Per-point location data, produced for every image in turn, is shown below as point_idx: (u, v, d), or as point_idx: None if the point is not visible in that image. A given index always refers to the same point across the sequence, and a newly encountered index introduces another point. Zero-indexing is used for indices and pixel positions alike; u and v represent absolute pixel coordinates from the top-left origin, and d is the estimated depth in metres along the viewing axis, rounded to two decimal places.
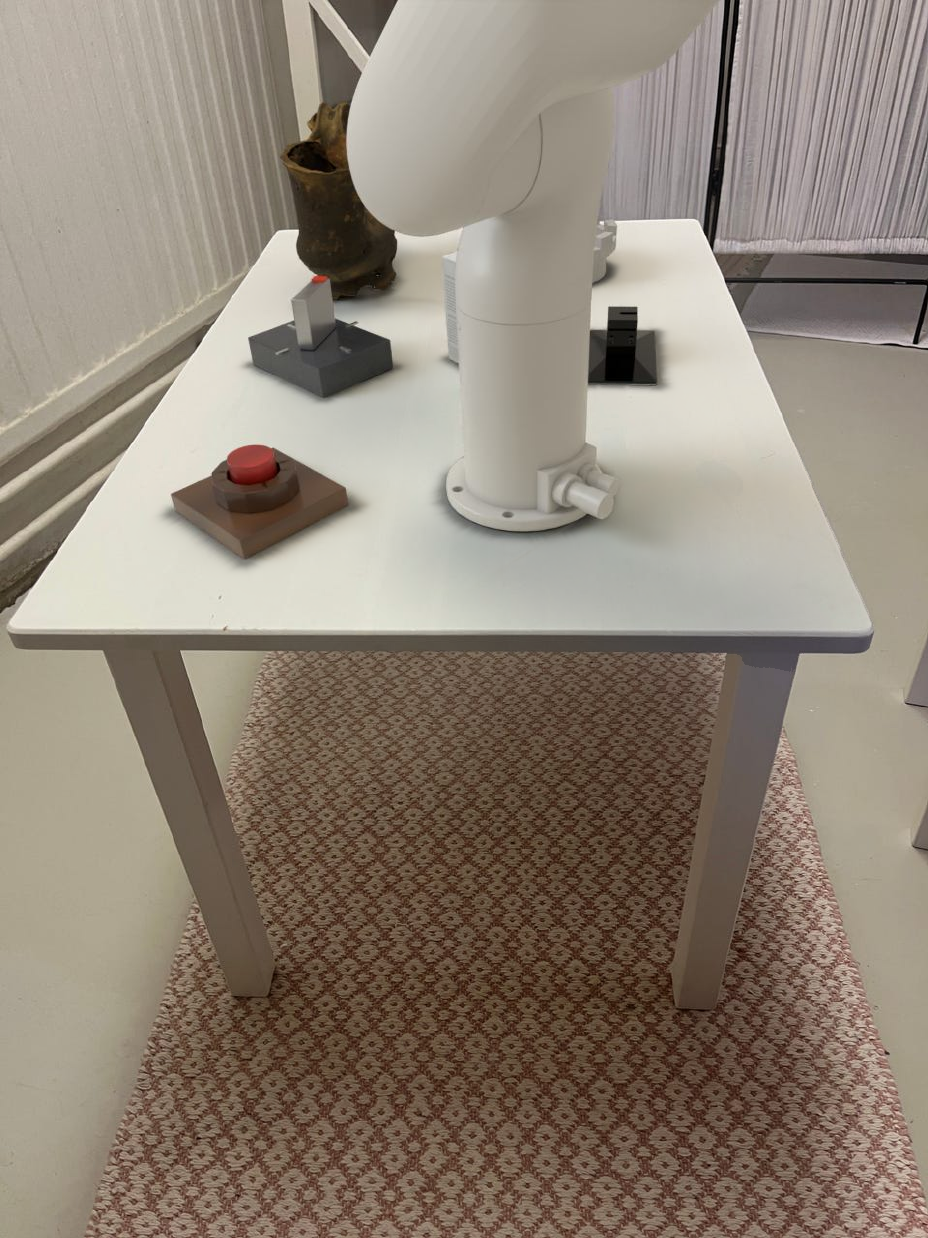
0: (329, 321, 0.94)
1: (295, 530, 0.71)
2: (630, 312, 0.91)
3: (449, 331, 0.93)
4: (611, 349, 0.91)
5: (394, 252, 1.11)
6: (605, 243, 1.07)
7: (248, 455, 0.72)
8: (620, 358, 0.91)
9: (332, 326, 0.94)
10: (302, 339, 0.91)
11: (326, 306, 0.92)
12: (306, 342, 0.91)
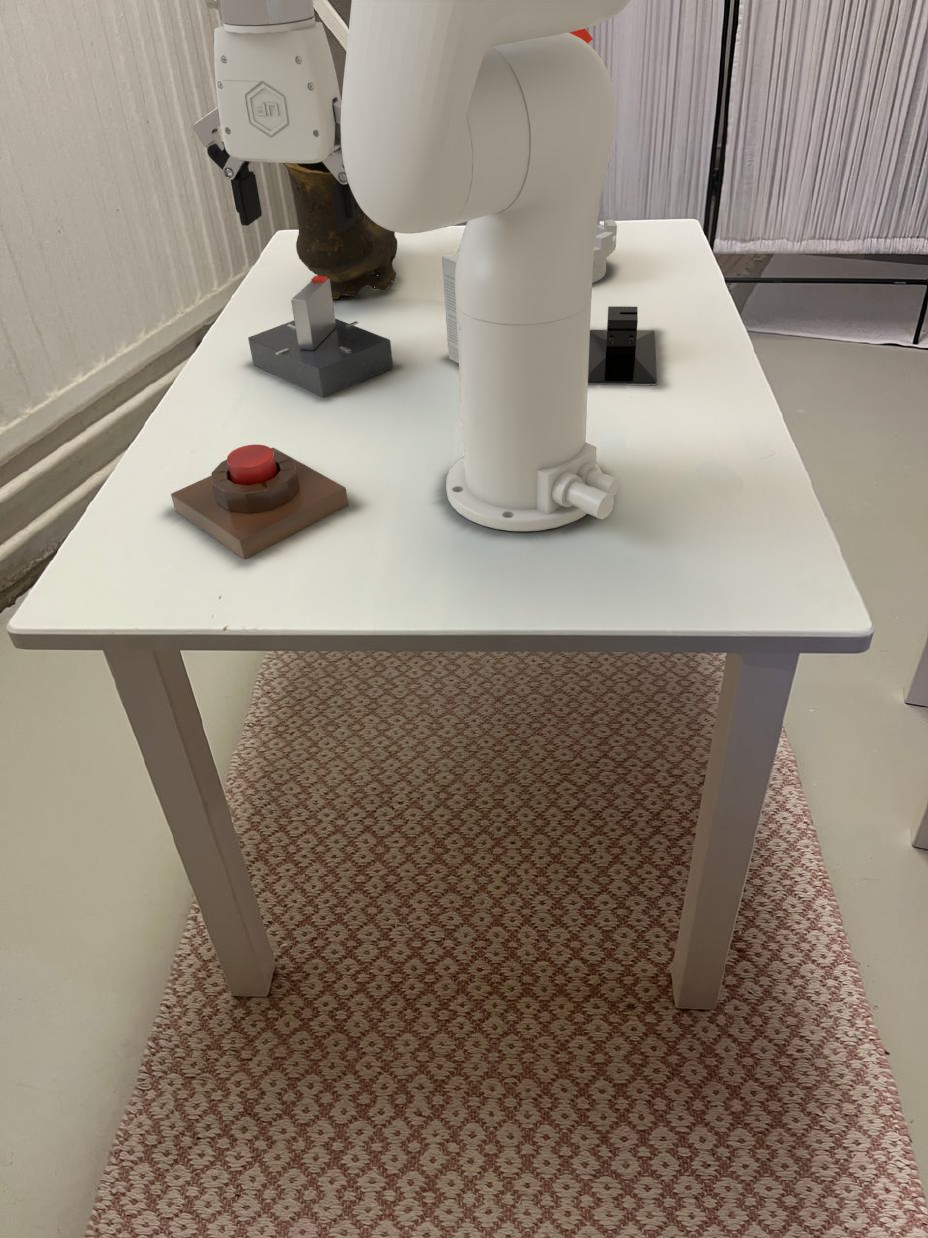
0: (329, 321, 0.94)
1: (295, 530, 0.71)
2: (630, 312, 0.91)
3: (449, 331, 0.93)
4: (611, 349, 0.91)
5: (394, 252, 1.11)
6: (605, 243, 1.07)
7: (248, 455, 0.72)
8: (620, 358, 0.91)
9: (332, 326, 0.94)
10: (302, 339, 0.91)
11: (326, 306, 0.92)
12: (306, 342, 0.91)
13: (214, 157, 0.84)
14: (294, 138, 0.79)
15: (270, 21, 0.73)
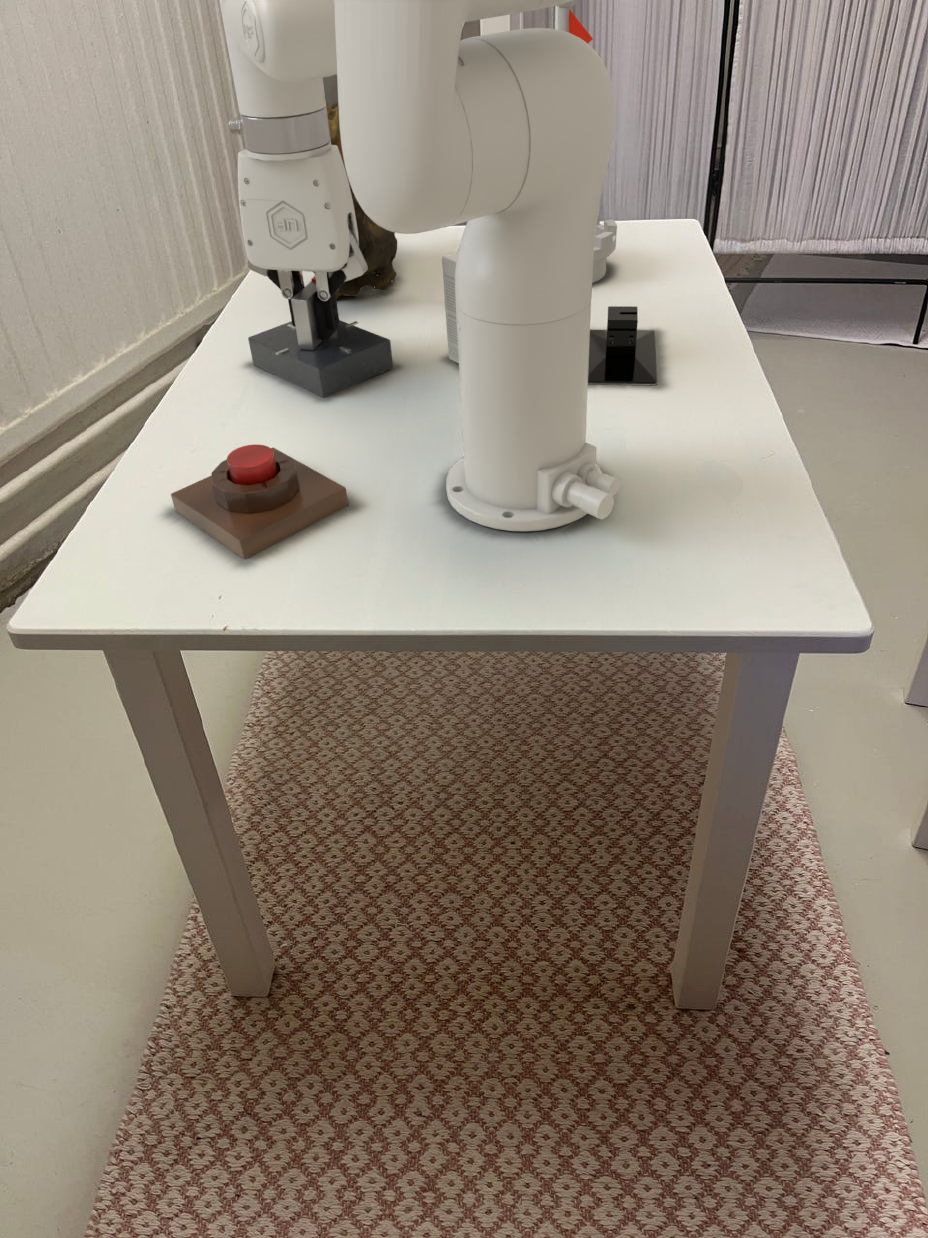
0: None
1: (295, 530, 0.71)
2: (630, 312, 0.91)
3: (449, 331, 0.93)
4: (611, 349, 0.91)
5: (394, 252, 1.11)
6: (605, 243, 1.07)
7: (248, 455, 0.72)
8: (620, 358, 0.91)
9: None
10: (302, 339, 0.91)
11: None
12: (306, 342, 0.91)
13: (273, 278, 0.90)
14: (312, 250, 0.85)
15: (290, 150, 0.79)
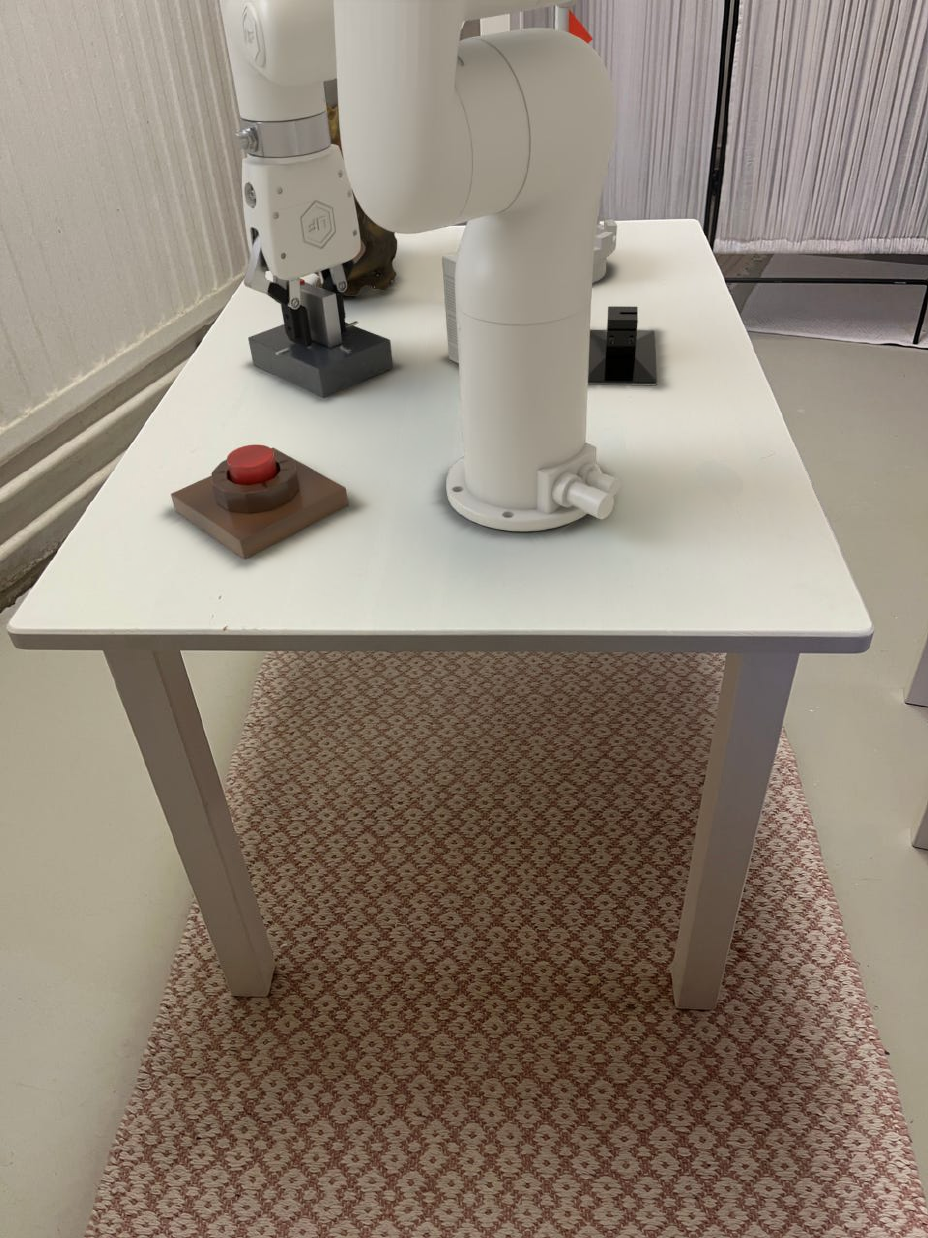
0: None
1: (295, 530, 0.71)
2: (630, 312, 0.91)
3: (449, 331, 0.93)
4: (611, 349, 0.91)
5: (394, 252, 1.11)
6: (605, 243, 1.07)
7: (248, 455, 0.72)
8: (620, 358, 0.91)
9: None
10: (333, 336, 0.91)
11: None
12: (336, 337, 0.91)
13: (276, 294, 0.87)
14: (339, 243, 0.87)
15: (326, 145, 0.81)
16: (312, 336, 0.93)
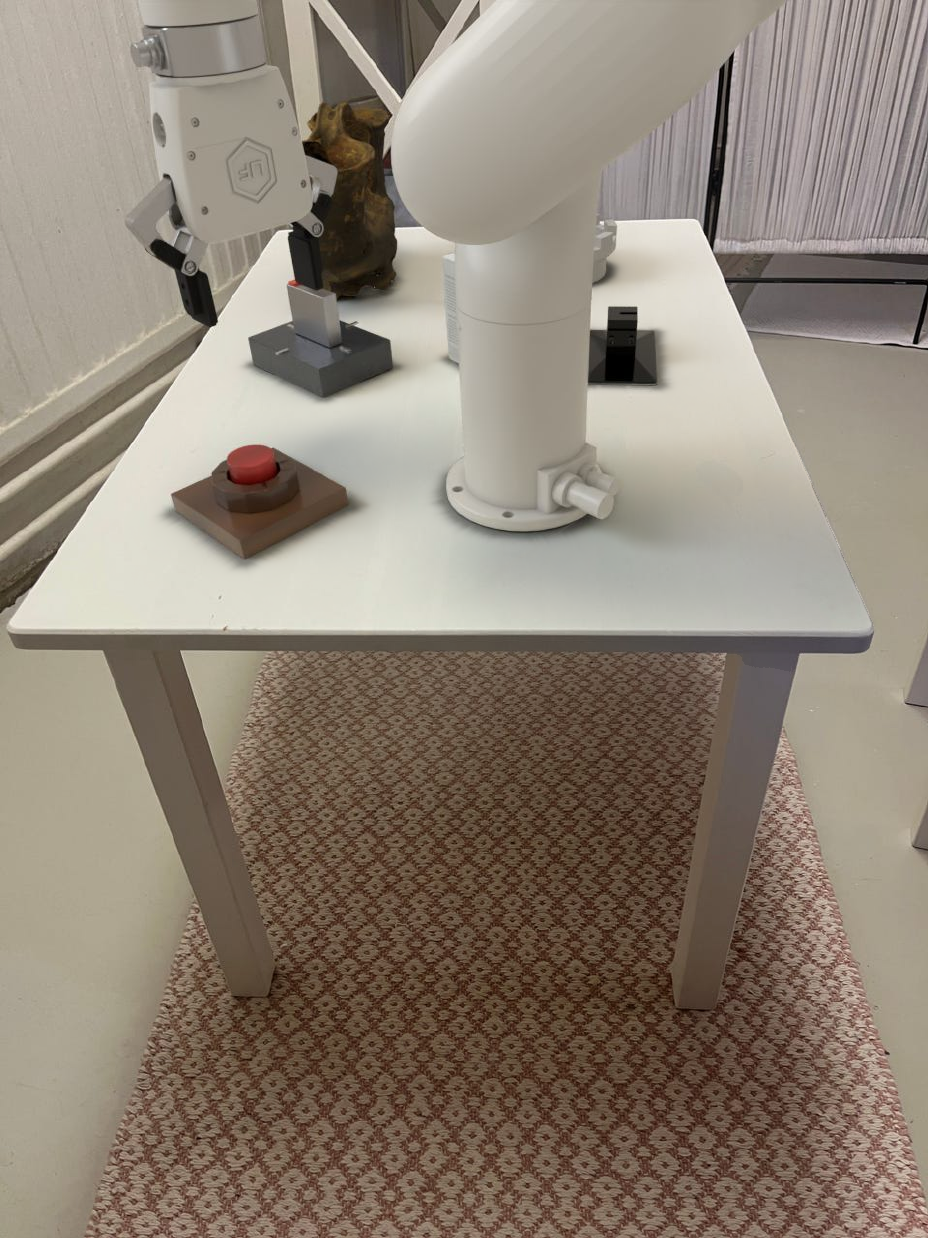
0: None
1: (295, 530, 0.71)
2: (630, 312, 0.91)
3: (449, 331, 0.93)
4: (611, 349, 0.91)
5: (394, 252, 1.11)
6: (605, 243, 1.07)
7: (248, 455, 0.72)
8: (620, 358, 0.91)
9: None
10: (333, 336, 0.91)
11: None
12: (336, 337, 0.91)
13: (163, 255, 0.65)
14: (282, 196, 0.67)
15: (258, 62, 0.61)
16: (312, 336, 0.93)
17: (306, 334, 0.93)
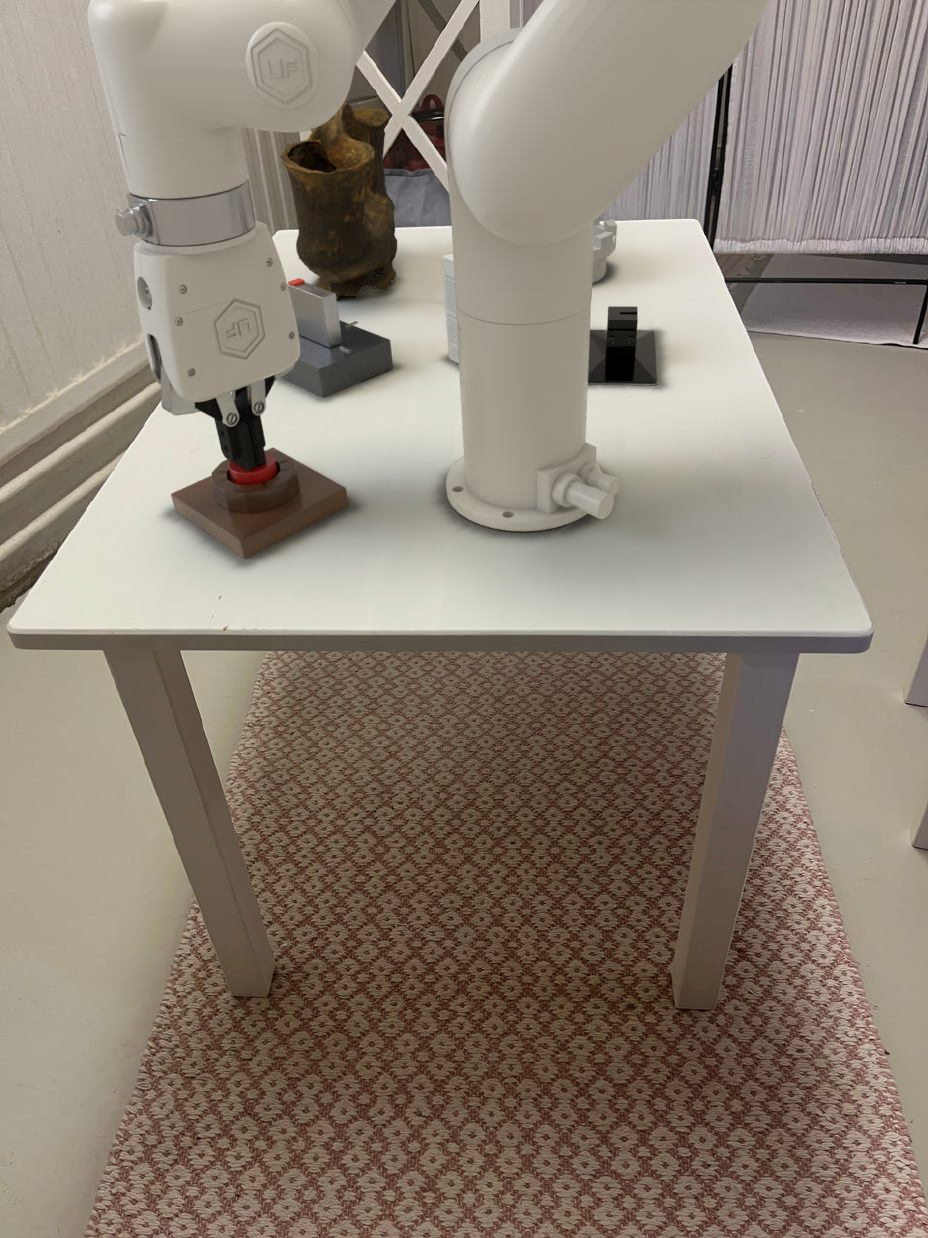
0: None
1: (295, 530, 0.71)
2: (630, 312, 0.91)
3: (449, 331, 0.93)
4: (611, 349, 0.91)
5: (394, 252, 1.11)
6: (605, 243, 1.07)
7: None
8: (620, 358, 0.91)
9: None
10: (333, 336, 0.91)
11: None
12: (336, 337, 0.91)
13: (206, 409, 0.66)
14: (270, 350, 0.66)
15: (248, 227, 0.60)
16: (312, 336, 0.93)
17: (306, 334, 0.93)
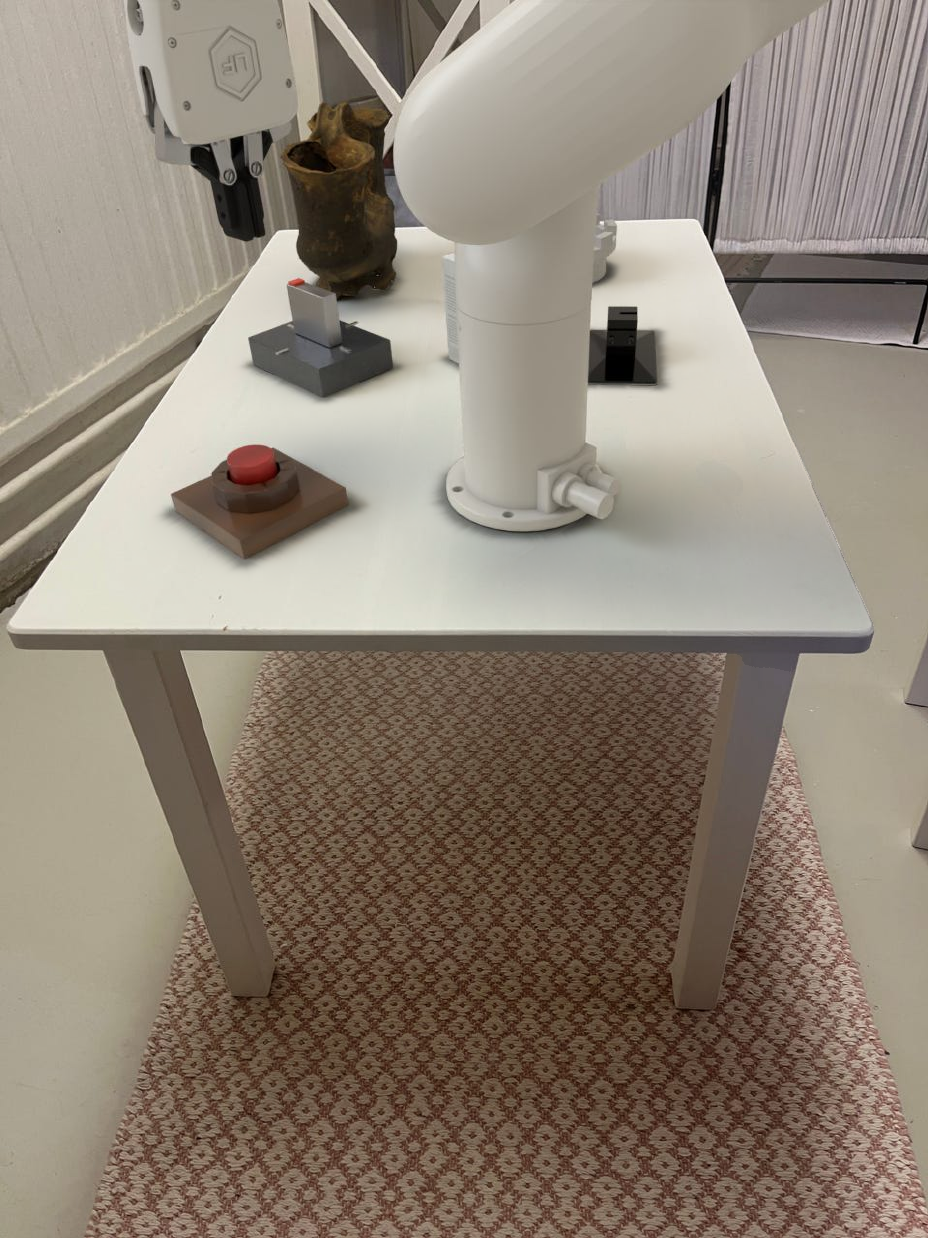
0: None
1: (295, 530, 0.71)
2: (630, 312, 0.91)
3: (449, 331, 0.93)
4: (611, 349, 0.91)
5: (394, 252, 1.11)
6: (605, 243, 1.07)
7: (248, 455, 0.72)
8: (620, 358, 0.91)
9: None
10: (333, 336, 0.91)
11: None
12: (336, 337, 0.91)
13: (202, 162, 0.64)
14: (267, 95, 0.63)
15: None
16: (312, 336, 0.93)
17: (306, 334, 0.93)
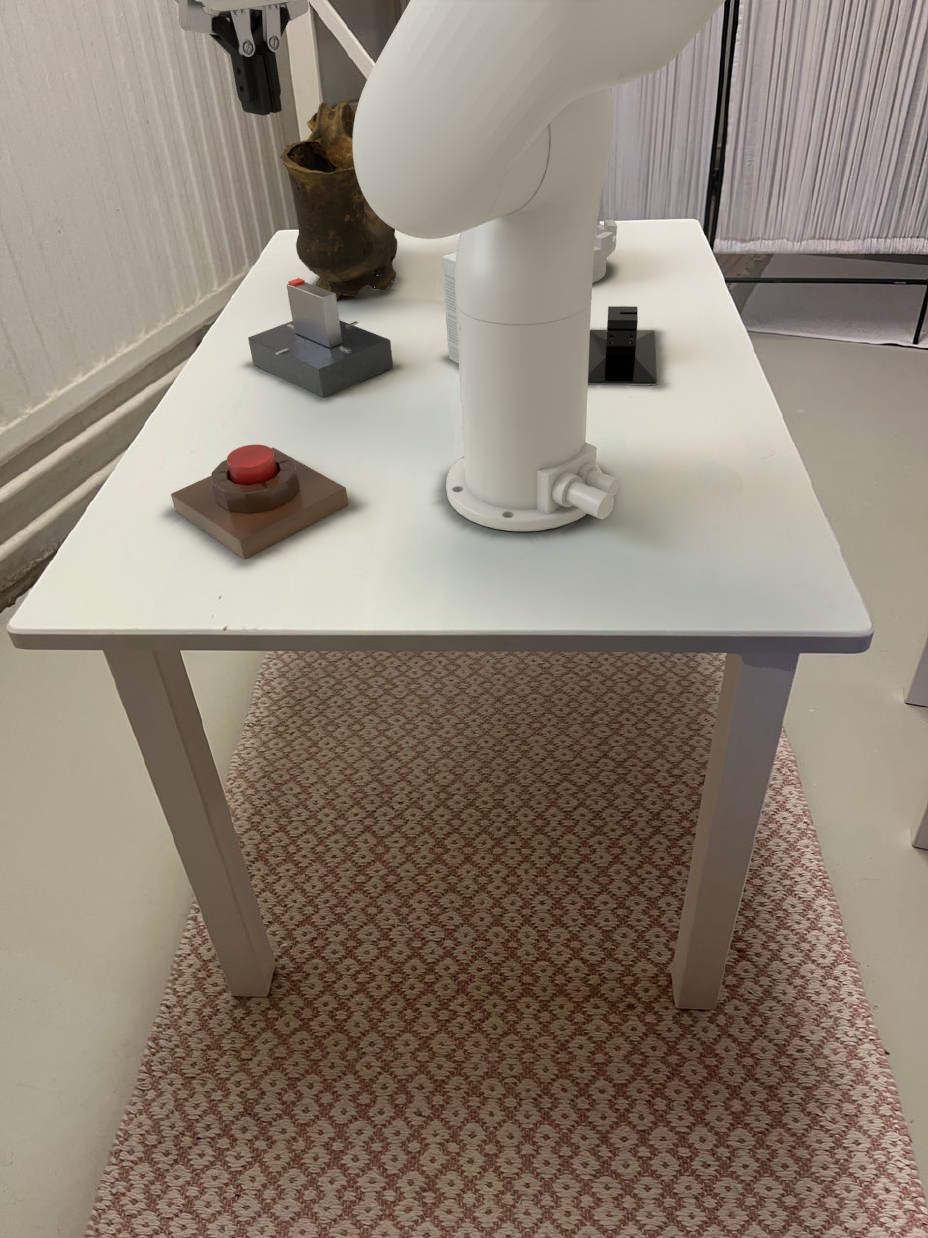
0: None
1: (295, 530, 0.71)
2: (630, 312, 0.91)
3: (449, 331, 0.93)
4: (611, 349, 0.91)
5: (394, 252, 1.11)
6: (605, 243, 1.07)
7: (248, 455, 0.72)
8: (620, 358, 0.91)
9: None
10: (333, 336, 0.91)
11: None
12: (336, 337, 0.91)
13: (223, 32, 0.67)
14: None
15: None
16: (312, 336, 0.93)
17: (306, 334, 0.93)
